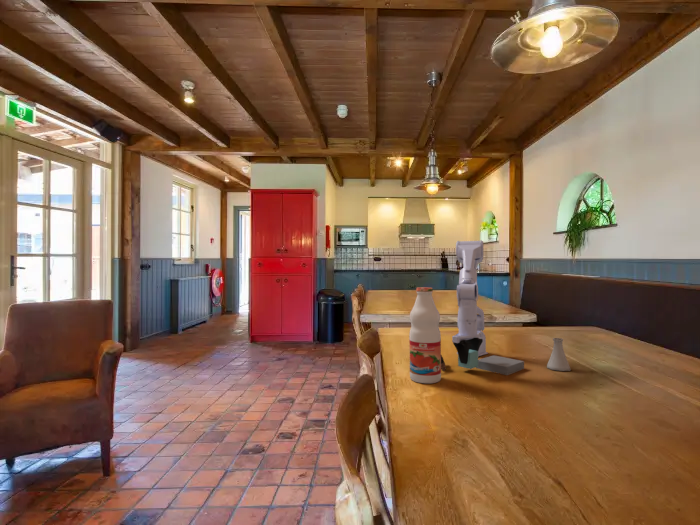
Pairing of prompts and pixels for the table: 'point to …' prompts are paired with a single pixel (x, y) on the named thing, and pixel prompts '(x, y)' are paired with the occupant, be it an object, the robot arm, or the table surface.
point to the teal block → (470, 360)
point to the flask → (558, 357)
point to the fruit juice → (425, 339)
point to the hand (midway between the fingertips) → (468, 361)
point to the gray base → (500, 365)
